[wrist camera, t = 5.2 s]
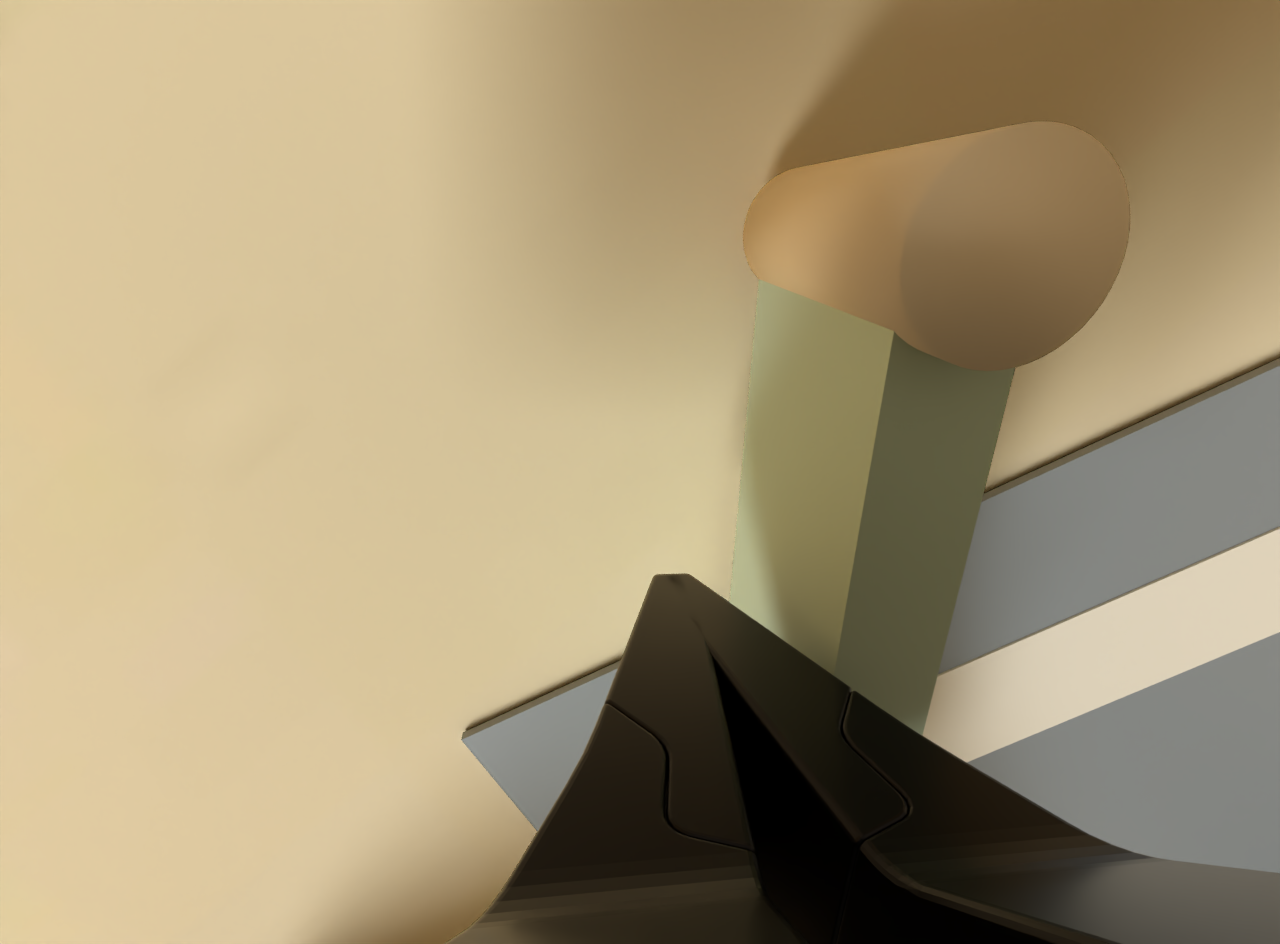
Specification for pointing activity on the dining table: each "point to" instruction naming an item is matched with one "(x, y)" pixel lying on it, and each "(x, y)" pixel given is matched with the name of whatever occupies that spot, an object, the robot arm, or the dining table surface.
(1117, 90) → the dining table surface
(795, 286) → the fence panel
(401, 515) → the dining table surface
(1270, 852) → the card
